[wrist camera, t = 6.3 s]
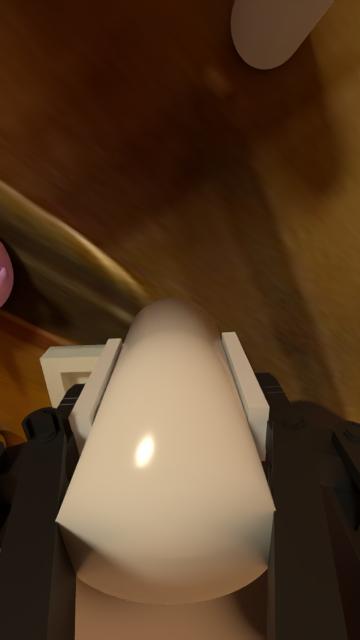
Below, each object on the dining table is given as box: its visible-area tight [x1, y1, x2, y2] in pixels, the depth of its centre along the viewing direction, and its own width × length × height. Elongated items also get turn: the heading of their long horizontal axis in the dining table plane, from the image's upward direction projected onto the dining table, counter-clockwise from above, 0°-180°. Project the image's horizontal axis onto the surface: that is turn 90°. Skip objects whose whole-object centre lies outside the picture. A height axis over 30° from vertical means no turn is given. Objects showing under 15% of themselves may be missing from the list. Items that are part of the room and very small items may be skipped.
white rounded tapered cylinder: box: [55, 298, 276, 605], centre depth 13 cm, size 6×6×12 cm
